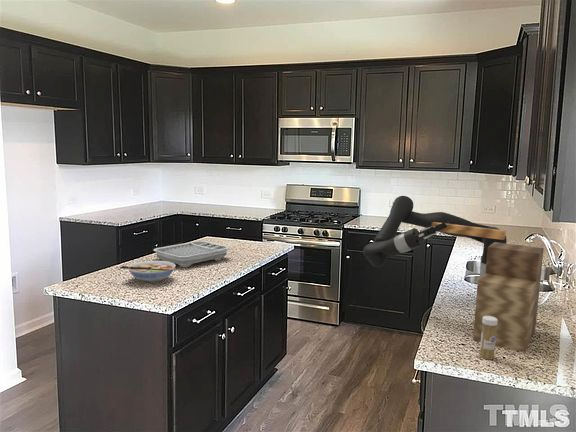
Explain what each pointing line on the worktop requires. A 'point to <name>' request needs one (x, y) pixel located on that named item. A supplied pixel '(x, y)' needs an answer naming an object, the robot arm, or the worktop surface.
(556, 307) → the worktop surface
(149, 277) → the ramen bowl
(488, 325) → the sprinkles bottle
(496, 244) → the box
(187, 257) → the dish rack
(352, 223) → the worktop surface
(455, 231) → the dowel
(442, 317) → the worktop surface
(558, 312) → the worktop surface
